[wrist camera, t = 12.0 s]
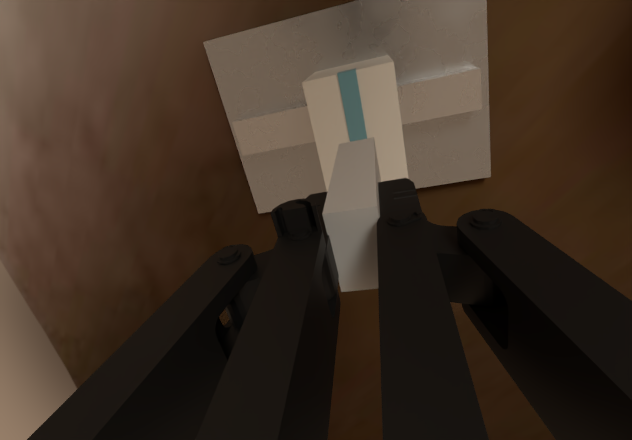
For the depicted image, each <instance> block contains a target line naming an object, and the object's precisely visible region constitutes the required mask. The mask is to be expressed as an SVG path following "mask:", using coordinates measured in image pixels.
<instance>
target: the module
mask: <svg viewBox="0 0 632 440" xmlns="http://www.w3.org/2000/svg"><path fill="white" fill-rule="evenodd" d="M302 86H303V90H304V94H305V99H306V103H307V107H308V112H309V116H310V120H311V125H312V129H313V133H314V138H315V142H316V146H317V151H318V155H319V160H320V164H321V168H322V173H323V177H324V181H325V186H326V190H327V192H328V188H329V184H330V180H331V176H332V172H333V167H334V163H335V159H336V155H337V151H338V147H339V144H341V143H346V142H352V141H357V140H362V139H367V138H373V137H374V140H375V146H376V153H377V159H378V165H379V171H380V177H381V182H383V181H389V180H395V179H401V178H408V171H407V163H406V155H405V147H404V139H403V131H402V123H401V115H400V107H399V99H398V92H397V84H396V76H395V68H394V61H393V60H392V59H391V58H390V56H389V55H385V56H381V57H377V58H372V59H368V60H364V61H360V62H355V63H351V64H347V65H343V66H338V67H334V68H330V69H326V70H321V71H317V72H314V73H313V74H312V75H311V76H309V77H308V78H307V79H306V80H304V81H303V82H302Z"/></svg>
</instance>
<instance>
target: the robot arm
mask: <svg viewBox="0 0 632 440" xmlns="http://www.w3.org/2000/svg"><path fill="white" fill-rule="evenodd" d="M270 213H271V216H272V219H273V222H274V225H275V229H276V232H277V235H278V239H277V242H276V244H275V247H274V249H272V250H269V251H267V252H263V253H260V254H257V255H254V254H253V252H252V249H251V248H250V247H249V246H248V245H243V244H239V245H230V246H229V247H228V246H227V247H224V248H223V249H222V250H220V251H218V252H216V253H215V254H214V255H212V256H211V257H210V258H209V259H208V260H207V261H206V262H205V263H204V264H203V265H202V266H201V267H200V268H199V269H198V270H197V271H196V272H195V273H194V274H193V275H192V276H191V277H190V278H189V279H188V280H187V281H186V282H185V283H184V284H183V285H182V286H181V287H180V288H179V289H178V290H177V291H176V292H175V293H174V294H173V295H172V296H171V297H170V298H169V299H168V300H167V301H166V302H165V303H164V304H163V305H162V306H161V307H160V308H159V309H158V310H157V311H156V312H155V313H154V314H153V315H152V316H151V317H150V318H149V319H148V320H147V321H146V322H145V323H144V324H143V325H142V326H141V327H140V328H139V329H138V330H137V331H136V332H135V333H134V334H133V335H132V336H131V337H130V338H129V339H128V340H127V341H126V342H125V343H124V344H123V345H122V346H121V347H120V348H119V349H118V350H116V351H115V352H114V353H113V354H112V355H111V356H110V357H109V358H108V359H107V360H106V361H105V362H104V363H103V364H102V365H101V366H100V367H99V368H98V369H97V370H96V371H95V372H94V373H93V374H92V375H91V376H90V377H89V378H88V379H87V380H86V381H85V382H84V383H83V384H82V385H81V386H80V387H79V388H78V389H77V390H76V391H75V392H74V393H73V394H72V395H71V396H70V397H69V398H68V399H67V400H66V401H65V402H64V403H63V404H62V405H61V406H60V407H59V408H58V409H57V410H56V411H55V412H54V413H53V414H52V415H51V416H50V417H49V418H48V419H47V420H46V421H45V422H44V423H43V424H42V425H41V426H40V427H39V428H38V429H37V430H36V431H35V432H34V433H33V434H32V435H31V436H30V437H29V438H28V439H27V440H327V438H328V427H329V417H330V407H331V396H332V386H333V376H334V365H335V355H336V345H337V334H338V324H339V314H340V298H339V294H338V290H337V287H338V280H339V284H340V288H341V292H347V291H357V290H367V289H377V288H378V290H379V323H380V356H381V390H382V423H383V440H489V439H488V435H487V432H486V428H485V425H484V421H483V418H482V414H481V410H480V407H479V403H478V400H477V396H476V393H475V389H474V385H473V382H472V378H471V375H470V371H469V368H468V364H467V361H466V357H465V353H464V350H463V346H462V343H461V339H460V336H459V332H458V329H457V325H456V321H455V318H454V314H453V311H452V307H451V304H450V302H455V303H462V307H463V309H464V312H465V313H466V315H467V316H468V317H469V319H470V320H471V322H472V323H473V324H474V326H475V327H476V329H477V330H478V331H479V333H480V334H481V336H482V337H483V338H484V340H485V341H486V343H487V344H488V345H489V347H490V348H491V350H492V351H493V352H494V354H495V355H496V356H497V358H498V359H499V361H500V362H501V363H502V365H503V366H504V368H505V369H506V370H507V372H508V373H509V375H510V376H511V377H512V379H513V380H514V382H515V383H516V384H517V386H518V387H519V389H520V390H521V391H522V393H523V394H524V396H525V397H526V398H527V400H528V401H529V403H530V404H531V405H532V407H533V408H534V410H535V411H536V412H537V414H538V415H539V417H540V418H541V419H542V421H543V422H544V424H545V425H546V426H547V428H548V429H549V431H550V432H551V433H552V435H553V436H554V438H555V439H556V440H632V301H631V300H630V299H628V298H627V297H625V296H624V295H623V294H621V293H620V292H618V291H617V290H616V289H614V288H613V287H611V286H610V285H609V284H607V283H606V282H604V281H603V280H602V279H600V278H599V277H597V276H596V275H595V274H593V273H592V272H590V271H589V270H588V269H586V268H585V267H584V266H582V265H581V264H579V263H578V262H577V261H575V260H574V259H572V258H571V257H570V256H568V255H567V254H565V253H564V252H563V251H561V250H560V249H558V248H557V247H556V246H554V245H553V244H551V243H550V242H549V241H547V240H546V239H544V238H543V237H542V236H540V235H539V234H537V233H536V232H535V231H533V230H532V229H530V228H529V227H528V226H526V225H525V224H524V223H522V222H521V221H519V220H518V219H517V218H515V217H514V216H512V215H510V214H508V213H506V212H504V211H499V210H494V209H480V210H476V211H471V212H469V213H466V214H464V215H462V216H461V217H460V218H459V219H458V221H457V227H454V226H440V225H436V224H433V223H431V222H428V221H427V218H426V216H425V215H424V213H423V212H422V210H421V207H420V203H419V199H418V196H417V192H416V188H415V185H414V182H412V181H411V180H409V179H408V178H401V179H395V180H389V181H383V182H381V177H380V171H379V165H378V159H377V153H376V146H375V140H374V137H373V138H367V139H362V140H357V141H352V142H346V143H341V144H339V147H338V151H337V155H336V159H335V163H334V167H333V172H332V176H331V180H330V184H329V188H328V192H322V193H315V194H310V195H309V196H308V197H307V198H306V199H305V198H303V199H295V200H291V201H287V202H285V203H282V204H280V205H278V206H277V207H275V208H274V209H273V210H272V211H271V212H270ZM224 309H225V310H226V312H227V314H228V317H229V319H230V320H229V321H228V322H227V324H225V325H224V326H223V325H222V323H221V321H220V319H219V316H220V314H221V313H222V312H223V311H224Z"/></svg>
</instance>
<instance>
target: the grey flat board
mask: <svg viewBox="0 0 632 440" xmlns="http://www.w3.org/2000/svg"><path fill="white" fill-rule="evenodd" d="M203 43H204V47H205V50H206V53H207V56H208V59H209V62H210V65H211V68H212V71H213V74H214V78H215V81H216V84H217V87H218V90H219V93H220V96H221V99H222V102H223V105H224V108H225V112H226V115H227V118H228V121H229V124H230V127H231V130H232V133H233V136H234V139H235V142H236V146H237V149H238V152H239V155H240V158H241V161H242V164H243V167H244V170H245V173H246V176H247V180H248V183H249V186H250V189H251V192H252V195H253V198H254V201H255V204H256V207H257V210H258V214H259V213H266V212H271V211H272V210H273V209H274V208H275V207H277V206H278V205H280V204H282V203H285V202H287V201H291V200H295V199H303V198H305V199H306V198H307V197H308V196H309V195H310V194H315V193H322V192H327V190H326V186H325V181H324V177H323V173H322V168H321V164H320V160H319V155H318V151H317V146H316V142H315V138H314V133H313V129H312V125H311V120H310V116H309V112H308V107H307V103H306V99H305V94H304V90H303V86H302V82H303V81H304V80H306V79H307V78H308V77H309V76H311V75H312V74H313V73H314V72H317V71H321V70H326V69H330V68H334V67H338V66H343V65H347V64H351V63H355V62H360V61H364V60H368V59H372V58H377V57H381V56H385V55H389V56H390V58H391V59H392V60H393V61H394V68H395V76H396V84H397V92H398V99H399V107H400V115H401V123H402V131H403V139H404V147H405V155H406V163H407V171H408V179H409V180H411V181H412V182H414V185H415V188H416V189H417V188H423V187H430V186H436V185H442V184H449V183H455V182H461V181H468V180H474V179H480V178H487V177H491V163H490V123H489V84H488V44H487V4H486V0H357V1H353V2H349V3H346V4H342V5H338V6H335V7H331V8H327V9H324V10H320V11H316V12H312V13H309V14H305V15H301V16H298V17H294V18H290V19H287V20H283V21H279V22H276V23H272V24H268V25H264V26H261V27H257V28H253V29H250V30H246V31H242V32H239V33H235V34H231V35H227V36H224V37H220V38H216V39H213V40H209V41H205V42H203Z"/></svg>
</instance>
